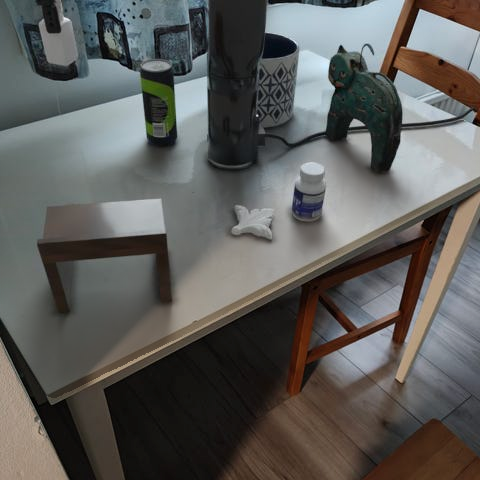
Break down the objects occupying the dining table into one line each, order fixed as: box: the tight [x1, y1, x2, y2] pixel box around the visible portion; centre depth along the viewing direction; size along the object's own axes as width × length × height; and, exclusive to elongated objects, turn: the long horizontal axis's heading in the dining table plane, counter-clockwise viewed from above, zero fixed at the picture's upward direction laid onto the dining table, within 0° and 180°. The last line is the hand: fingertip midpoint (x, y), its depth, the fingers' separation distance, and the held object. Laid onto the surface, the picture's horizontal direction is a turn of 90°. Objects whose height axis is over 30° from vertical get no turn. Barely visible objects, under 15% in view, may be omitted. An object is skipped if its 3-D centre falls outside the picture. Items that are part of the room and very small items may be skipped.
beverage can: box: [139, 58, 178, 147], centre depth 102 cm, size 6×6×15 cm
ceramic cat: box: [325, 43, 404, 174], centre depth 100 cm, size 20×6×20 cm, turn 29°
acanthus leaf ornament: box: [231, 204, 275, 241], centre depth 88 cm, size 8×7×2 cm
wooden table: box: [36, 198, 173, 313], centre depth 74 cm, size 16×11×12 cm
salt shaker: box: [38, 0, 79, 67], centre depth 84 cm, size 4×4×10 cm
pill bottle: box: [291, 161, 327, 223], centre depth 88 cm, size 5×5×9 cm
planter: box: [257, 31, 301, 129], centre depth 112 cm, size 16×16×14 cm
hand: (55, 26), depth 83 cm, fingers closed on salt shaker, 5 cm apart
